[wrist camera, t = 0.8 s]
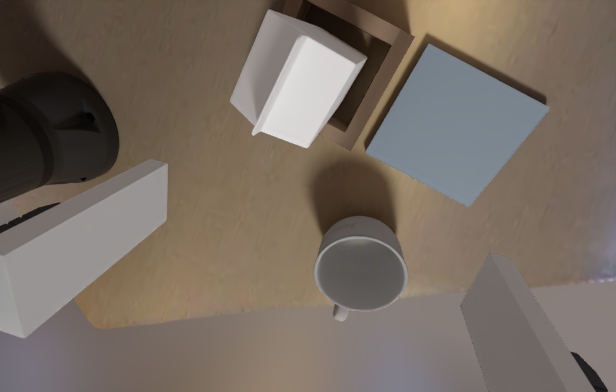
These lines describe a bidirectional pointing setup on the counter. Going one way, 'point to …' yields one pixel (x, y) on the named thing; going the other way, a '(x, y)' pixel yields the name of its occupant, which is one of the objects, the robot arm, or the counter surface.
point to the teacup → (360, 266)
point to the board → (453, 126)
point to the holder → (400, 42)
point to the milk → (294, 78)
